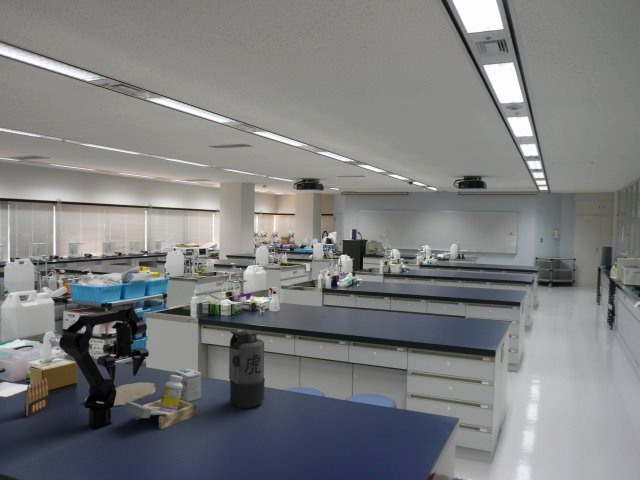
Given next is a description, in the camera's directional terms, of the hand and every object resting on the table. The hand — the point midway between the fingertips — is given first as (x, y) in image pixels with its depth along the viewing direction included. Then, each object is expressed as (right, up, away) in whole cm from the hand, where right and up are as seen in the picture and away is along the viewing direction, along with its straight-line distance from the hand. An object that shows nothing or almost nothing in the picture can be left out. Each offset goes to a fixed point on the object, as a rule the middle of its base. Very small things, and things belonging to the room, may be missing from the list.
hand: (123, 378), depth 186 cm
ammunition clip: (-33, -13, -1) cm, 35 cm away
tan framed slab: (+18, -13, -4) cm, 23 cm away
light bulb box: (+20, -13, +18) cm, 30 cm away
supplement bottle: (+18, -11, -4) cm, 21 cm away
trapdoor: (+15, -11, -8) cm, 20 cm away
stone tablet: (-7, -13, +18) cm, 23 cm away
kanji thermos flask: (+46, -14, +11) cm, 49 cm away
